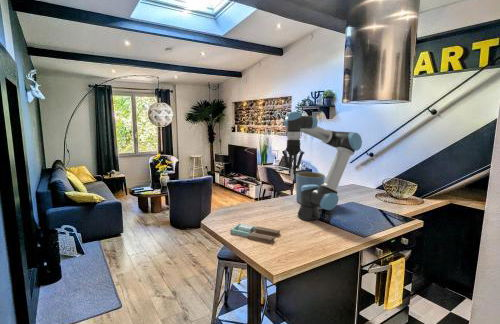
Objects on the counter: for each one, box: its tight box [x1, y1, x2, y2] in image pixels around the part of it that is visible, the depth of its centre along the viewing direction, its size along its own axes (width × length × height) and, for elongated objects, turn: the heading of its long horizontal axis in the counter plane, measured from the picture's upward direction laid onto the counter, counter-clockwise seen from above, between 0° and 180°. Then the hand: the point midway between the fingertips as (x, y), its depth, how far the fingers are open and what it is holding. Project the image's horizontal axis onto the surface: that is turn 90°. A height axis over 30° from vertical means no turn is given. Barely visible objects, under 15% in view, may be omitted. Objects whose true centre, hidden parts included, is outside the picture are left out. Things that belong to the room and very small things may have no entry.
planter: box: [295, 171, 326, 204], centre depth 222 cm, size 23×23×24 cm
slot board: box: [247, 226, 281, 244], centre depth 154 cm, size 14×14×3 cm
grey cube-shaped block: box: [238, 223, 248, 231], centre depth 160 cm, size 4×4×4 cm
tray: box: [229, 222, 257, 238], centre depth 160 cm, size 11×12×3 cm
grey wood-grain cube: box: [244, 224, 254, 233], centre depth 158 cm, size 4×4×4 cm
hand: (292, 179), depth 158 cm, fingers closed
